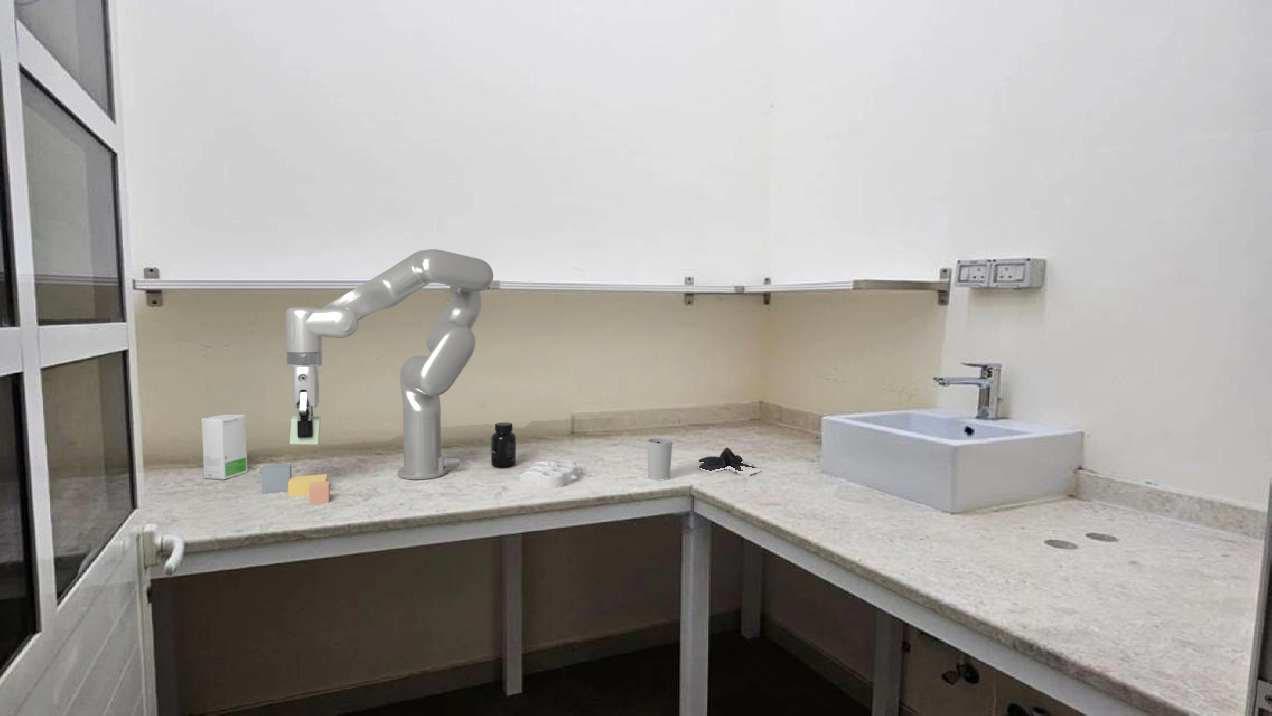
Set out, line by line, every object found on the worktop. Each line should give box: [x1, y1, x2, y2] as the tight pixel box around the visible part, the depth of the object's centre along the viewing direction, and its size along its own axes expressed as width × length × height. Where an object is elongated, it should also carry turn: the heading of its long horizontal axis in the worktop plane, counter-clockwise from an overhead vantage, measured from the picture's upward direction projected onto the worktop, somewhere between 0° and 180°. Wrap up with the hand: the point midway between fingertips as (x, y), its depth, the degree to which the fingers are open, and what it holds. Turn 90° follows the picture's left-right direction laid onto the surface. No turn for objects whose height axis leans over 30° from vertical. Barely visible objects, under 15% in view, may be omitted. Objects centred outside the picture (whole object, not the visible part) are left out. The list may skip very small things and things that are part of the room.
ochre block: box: [287, 473, 328, 497], centre depth 163 cm, size 8×6×4 cm
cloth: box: [697, 447, 757, 471], centre depth 194 cm, size 22×19×6 cm
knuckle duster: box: [519, 458, 583, 489], centre depth 178 cm, size 3×18×15 cm
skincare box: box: [201, 414, 248, 480], centre depth 175 cm, size 8×7×16 cm
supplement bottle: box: [490, 421, 517, 469], centre depth 190 cm, size 7×7×12 cm
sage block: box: [289, 415, 321, 446], centre depth 161 cm, size 6×4×6 cm, turn 112°
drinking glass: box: [647, 437, 673, 480], centre depth 180 cm, size 7×7×10 cm
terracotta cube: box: [308, 481, 331, 505], centre depth 155 cm, size 4×4×4 cm
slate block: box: [260, 463, 293, 495], centre depth 163 cm, size 6×4×6 cm, turn 112°
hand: (306, 434), depth 161 cm, fingers closed on sage block, 4 cm apart
